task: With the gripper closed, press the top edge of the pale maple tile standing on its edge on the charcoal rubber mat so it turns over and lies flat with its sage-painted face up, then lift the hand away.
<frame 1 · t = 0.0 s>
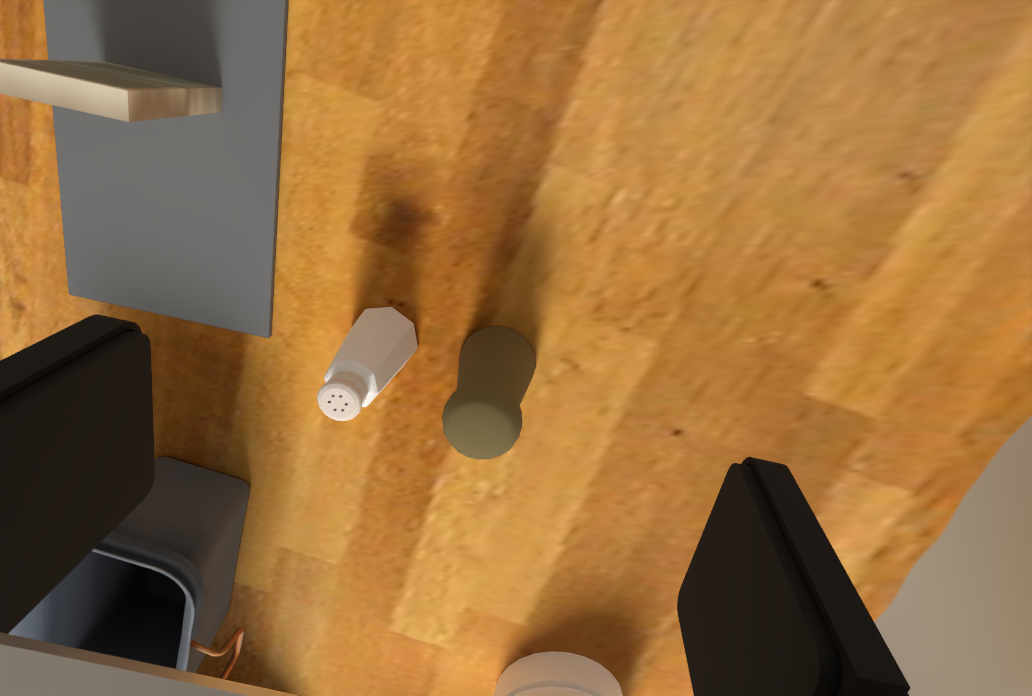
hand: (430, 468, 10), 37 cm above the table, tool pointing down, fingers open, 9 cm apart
rubber mat: (169, 160, 46), on the table
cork: (497, 360, 50), on the table
salt shaker: (385, 336, 50), on the table
storage bin: (209, 535, 60), on the table
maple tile: (164, 87, 43), resting on rubber mat
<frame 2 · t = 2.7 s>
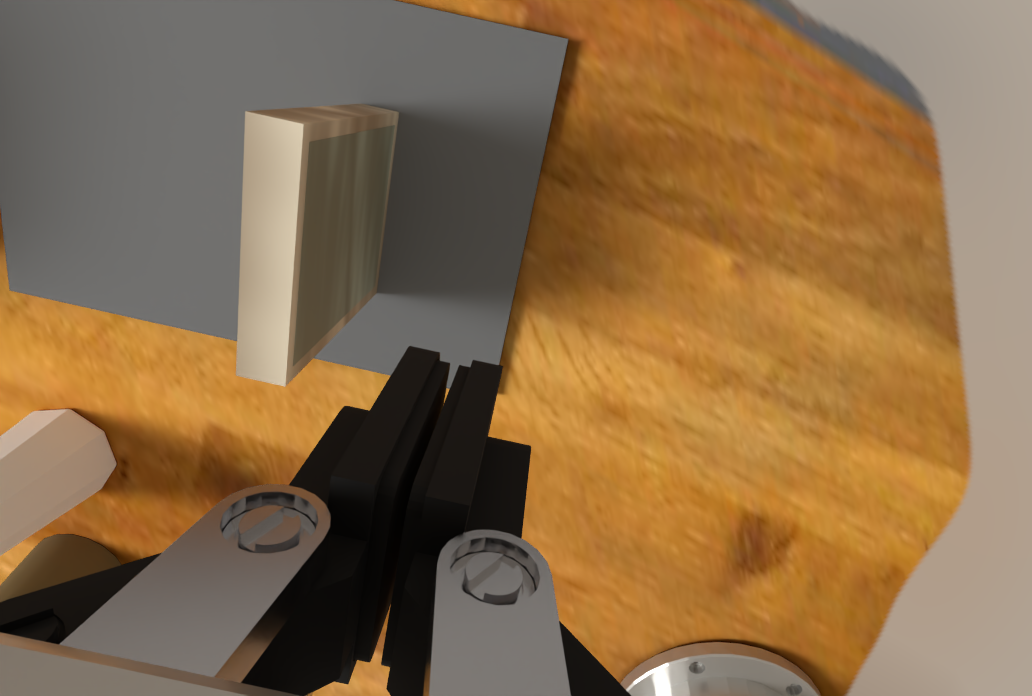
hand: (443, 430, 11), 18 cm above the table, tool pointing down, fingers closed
rubber mat: (262, 177, 28), on the table
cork: (83, 572, 39), on the table
salt shaker: (73, 447, 35), on the table
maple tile: (369, 203, 28), resting on rubber mat
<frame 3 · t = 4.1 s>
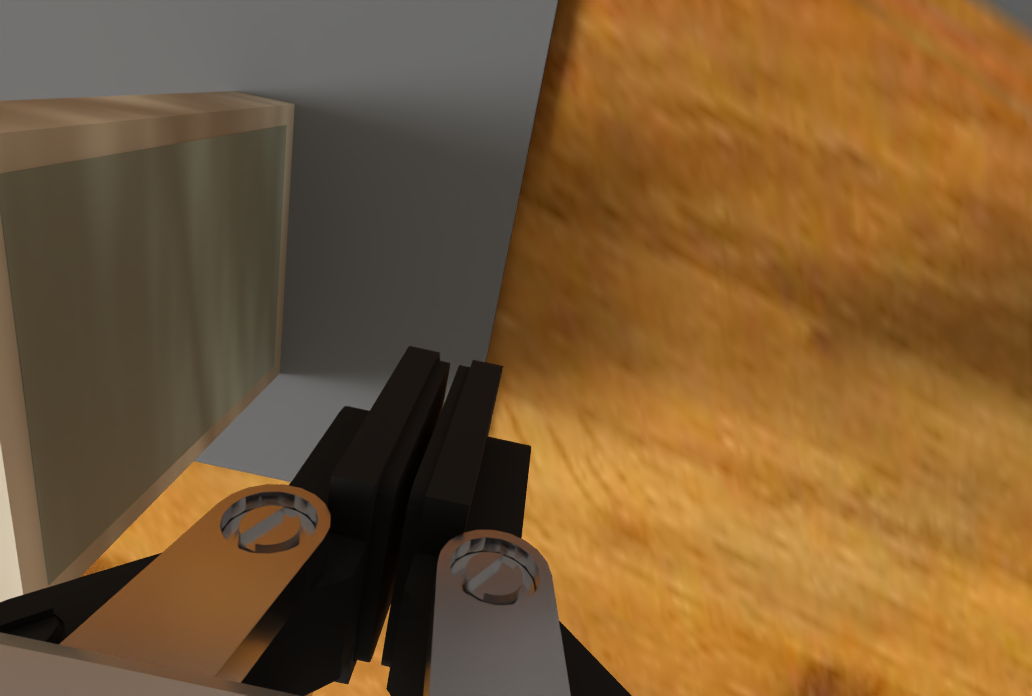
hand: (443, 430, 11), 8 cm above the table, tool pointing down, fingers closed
rubber mat: (99, 204, 19), on the table
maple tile: (259, 244, 18), resting on rubber mat
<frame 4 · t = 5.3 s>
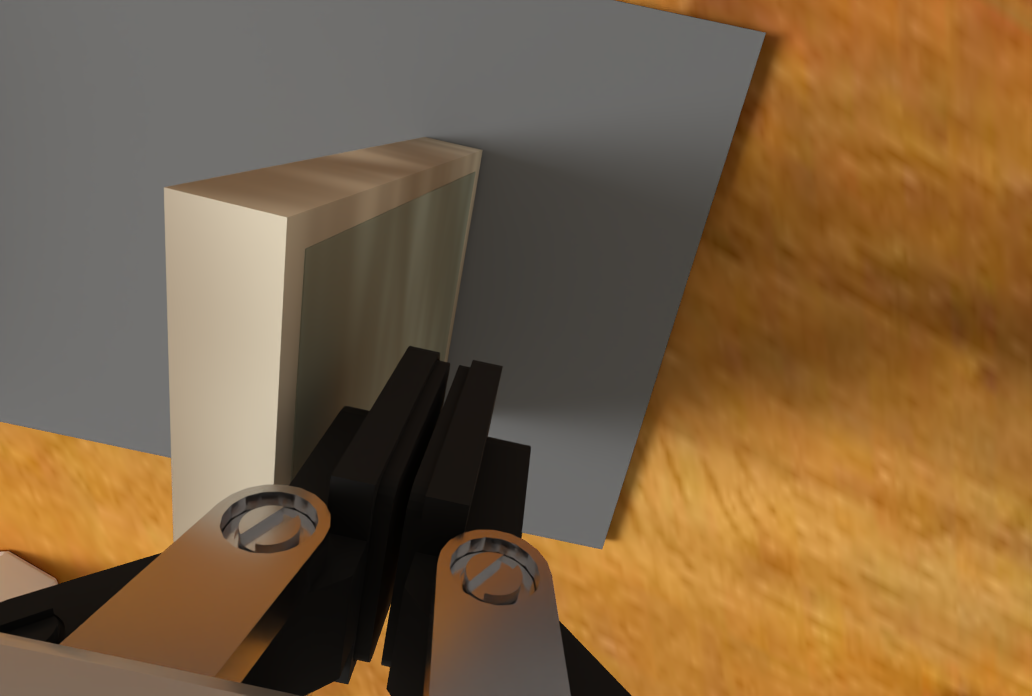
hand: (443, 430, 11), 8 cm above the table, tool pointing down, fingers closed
rubber mat: (271, 244, 19), on the table
salt shaker: (15, 596, 26), on the table
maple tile: (432, 285, 18), point 1 cm above the table, tilted 6°, touching rubber mat
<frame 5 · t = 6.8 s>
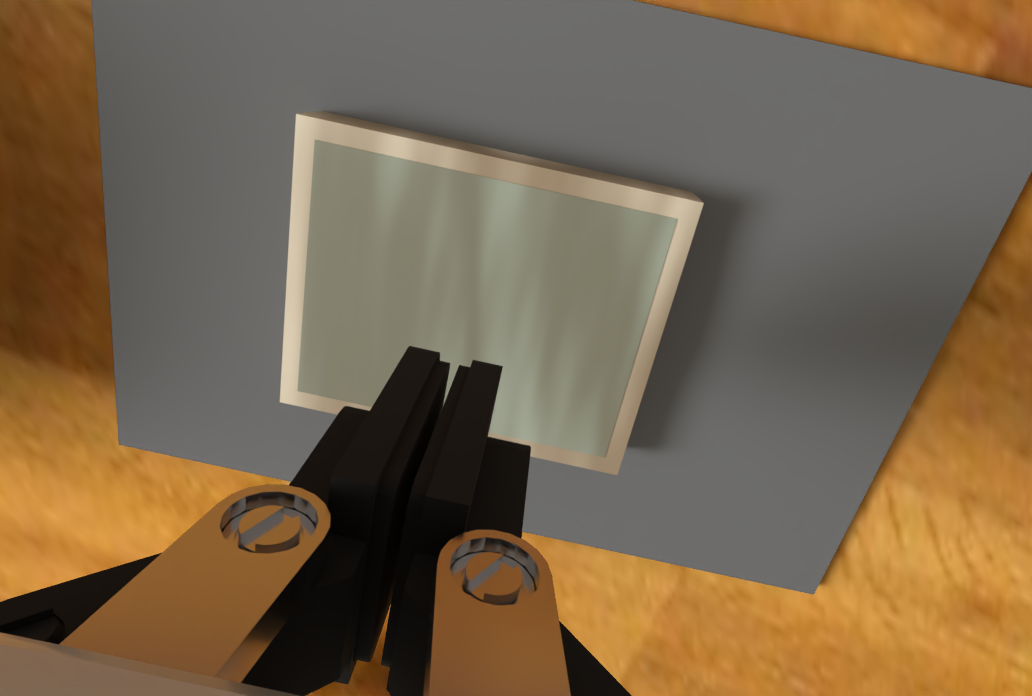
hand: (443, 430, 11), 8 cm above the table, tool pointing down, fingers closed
rubber mat: (514, 294, 19), on the table
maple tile: (653, 340, 18), point 1 cm above the table, tilted 90°, touching rubber mat
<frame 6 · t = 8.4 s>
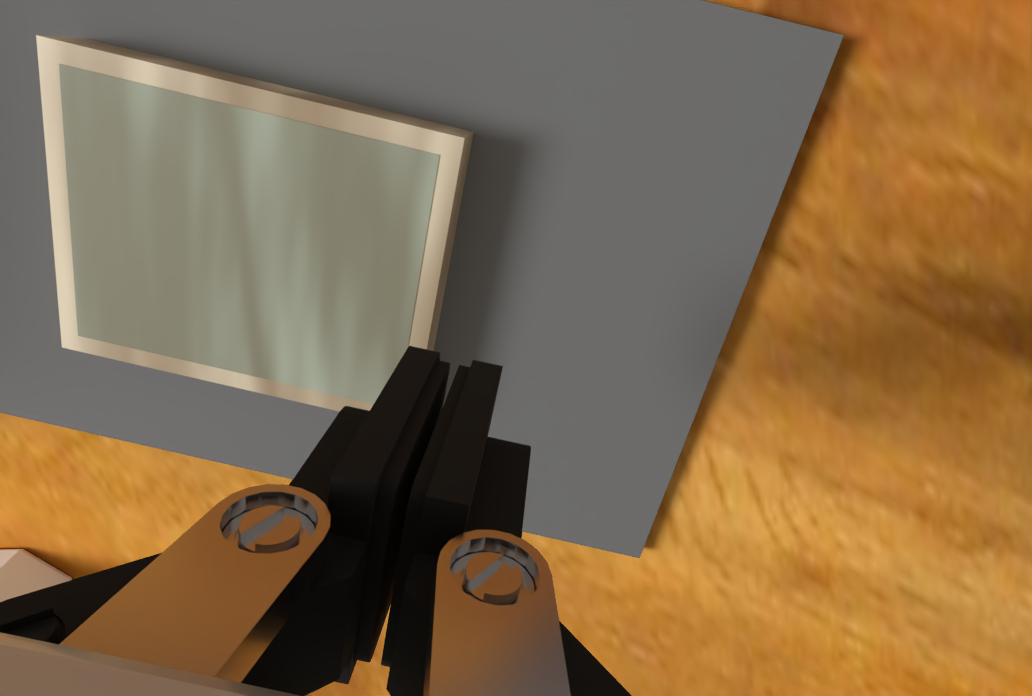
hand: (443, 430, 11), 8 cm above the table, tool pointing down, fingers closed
rubber mat: (312, 241, 18), on the table
salt shaker: (27, 594, 25), on the table
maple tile: (441, 287, 17), point 1 cm above the table, tilted 90°, touching rubber mat
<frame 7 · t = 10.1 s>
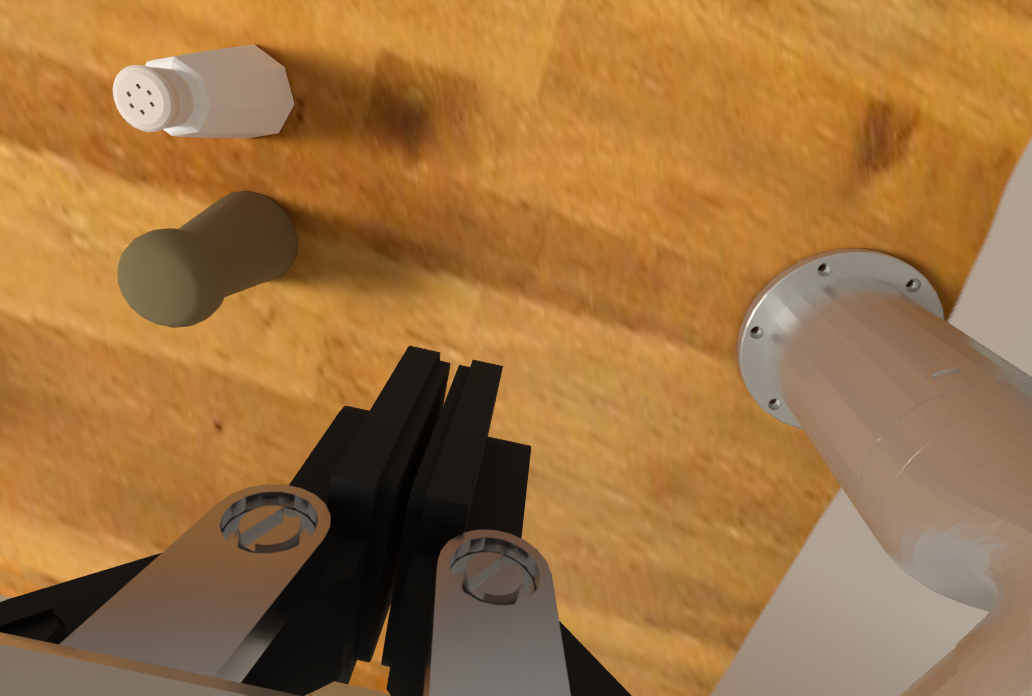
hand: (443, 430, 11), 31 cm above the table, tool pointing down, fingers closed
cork: (253, 236, 42), on the table
salt shaker: (253, 92, 39), on the table
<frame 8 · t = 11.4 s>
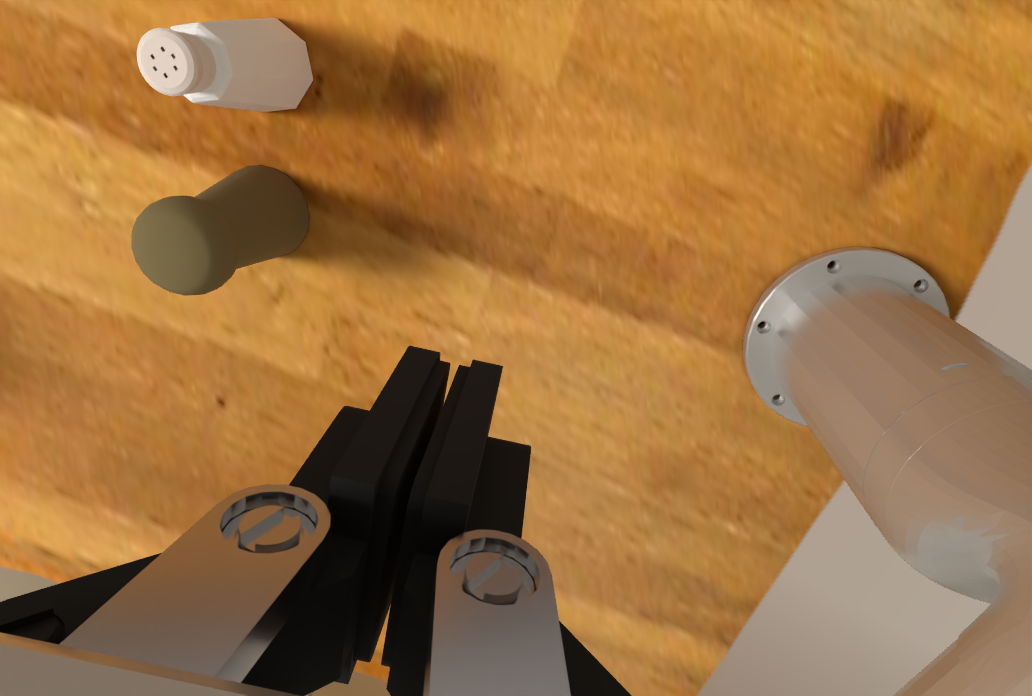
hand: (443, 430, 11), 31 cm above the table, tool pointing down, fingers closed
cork: (266, 211, 42), on the table
salt shaker: (272, 66, 39), on the table
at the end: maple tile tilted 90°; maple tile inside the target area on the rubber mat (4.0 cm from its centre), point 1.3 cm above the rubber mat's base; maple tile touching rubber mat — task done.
